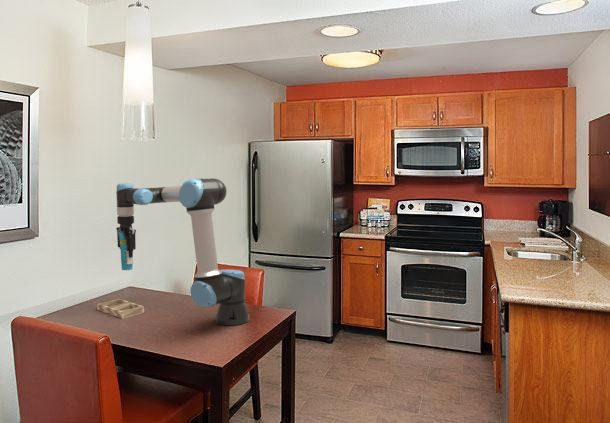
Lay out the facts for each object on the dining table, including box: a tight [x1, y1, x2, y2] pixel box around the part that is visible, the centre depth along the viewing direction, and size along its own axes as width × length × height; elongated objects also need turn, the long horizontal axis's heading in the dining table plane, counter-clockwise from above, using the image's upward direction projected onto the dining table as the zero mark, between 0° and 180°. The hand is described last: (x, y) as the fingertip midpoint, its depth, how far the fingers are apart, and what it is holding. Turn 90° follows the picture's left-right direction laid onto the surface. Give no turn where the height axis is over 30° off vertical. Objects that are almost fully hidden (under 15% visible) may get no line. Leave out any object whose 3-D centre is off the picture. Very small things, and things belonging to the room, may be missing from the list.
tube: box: [118, 231, 134, 271], centre depth 227 cm, size 7×5×19 cm, turn 133°
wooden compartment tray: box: [96, 298, 145, 320], centre depth 226 cm, size 22×12×3 cm, turn 52°
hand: (126, 262), depth 228 cm, fingers closed on tube, 5 cm apart
